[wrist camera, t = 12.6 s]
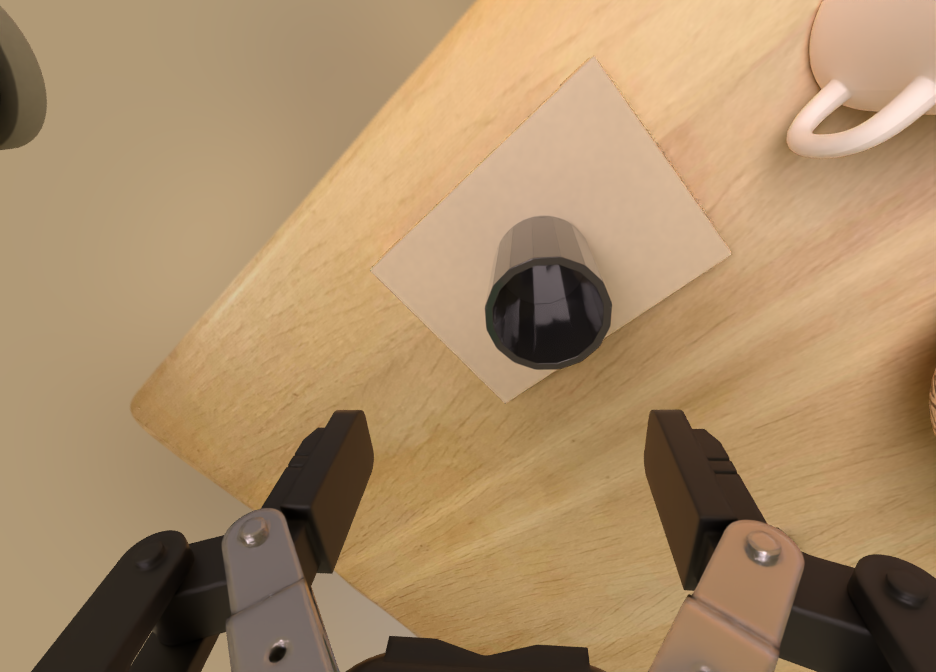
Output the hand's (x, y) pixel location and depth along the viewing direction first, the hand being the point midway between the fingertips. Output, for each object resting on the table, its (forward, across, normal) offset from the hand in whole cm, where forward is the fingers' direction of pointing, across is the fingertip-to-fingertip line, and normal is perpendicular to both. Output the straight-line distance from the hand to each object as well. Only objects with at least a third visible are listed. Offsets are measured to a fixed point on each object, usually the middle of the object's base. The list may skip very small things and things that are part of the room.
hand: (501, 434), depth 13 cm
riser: (+21, -2, +1) cm, 21 cm away
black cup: (+18, -2, +1) cm, 18 cm away
